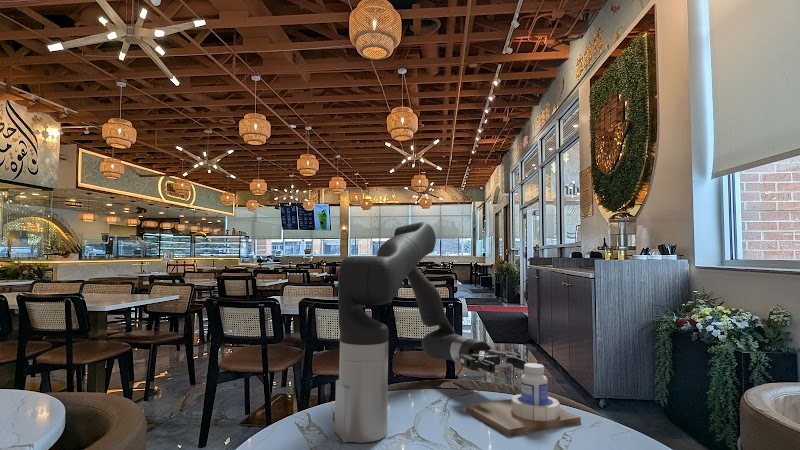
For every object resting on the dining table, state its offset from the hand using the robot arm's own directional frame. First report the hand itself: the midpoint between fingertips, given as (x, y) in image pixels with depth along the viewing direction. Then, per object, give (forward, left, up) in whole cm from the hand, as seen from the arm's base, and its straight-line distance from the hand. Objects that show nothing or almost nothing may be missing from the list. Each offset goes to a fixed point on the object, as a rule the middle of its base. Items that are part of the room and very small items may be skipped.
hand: (509, 366), depth 102 cm
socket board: (-2, -7, -9) cm, 11 cm away
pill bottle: (0, -8, -8) cm, 11 cm away
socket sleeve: (0, -9, -7) cm, 11 cm away
